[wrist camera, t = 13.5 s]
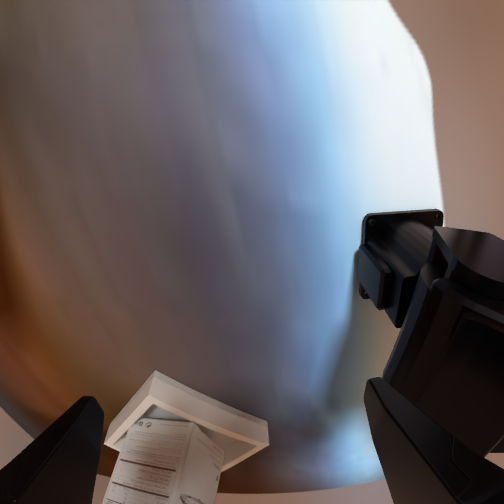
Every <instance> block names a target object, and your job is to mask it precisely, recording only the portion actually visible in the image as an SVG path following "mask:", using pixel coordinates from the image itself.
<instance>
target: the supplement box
mask: <svg viewBox="0 0 504 504" xmlns="http://www.w3.org/2000/svg"><path fill="white" fill-rule="evenodd" d="M224 454H225V452H224V450H222V449H221V448H219V447H218V446H217V445H216V444H215V443H214V442H213V441H212V440H211V439H210V438H209V437H207V436H206V435H205V434H204V433H203V432H202V431H201V430H200V428H199V427H198V426H197V425H196V424H195V423H193V422H180V421H168V420H158V419H148V418H139V419H138V420H137V421H136V422H135V423H134V424H133V425H132V426H131V427H130V428H129V430H128V432H127V435H126V437H125V440H124V443H123V446H122V448H121V451H120V454H119V457H118V459H117V462H116V465H115V468H114V471H113V473H112V476H111V480H110V482H109V485H108V488H107V491H106V494H105V497H104V500H103V503H102V504H215V499H216V494H217V489H218V484H219V479H220V474H221V469H222V464H223V459H224Z"/></svg>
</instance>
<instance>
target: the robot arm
mask: <svg viewBox="0 0 504 504" xmlns="http://www.w3.org/2000/svg"><path fill="white" fill-rule="evenodd" d="M437 214H438V217H437V218H436V215H437ZM370 219H373V223H372V224H369V220H370ZM442 226H443V212H441V211H440V210H438V209H427V210H411V211H396V212H382V213H370V214H367V215H366V216H365V217H364V220H363V243H362V244H361V245H360V247H359V258H358V275H357V278H358V280H359V281H360V289H359V293H360V295H361V297H362V298H363V299H371V300H372V302H373V303H374V305H375V306H376V308H377V309H379V310H385V312H386V313H387V315H388V316H389V318H390V319H391V321H392V323H393V324H394V326H395V327H396V328H401V327H402V328H401V330H400V333H399V335H398V338H397V340H396V343H395V345H394V348H393V350H392V353H391V355H390V358H389V360H388V362H387V365H386V367H385V369H384V373H383V377H382V378H380V377H376V378H372V379H369V380H368V381H367V384H366V388H365V393H364V403H365V407H366V412H367V416H368V421H369V425H370V430H371V435H372V439H373V442H374V446H375V449H376V451H377V454H378V457H379V460H380V463H381V466H382V469H383V472H384V475H385V478H386V481H387V484H388V487H389V490H390V493H391V496H392V499H393V503H394V504H504V469H502V468H501V467H499V466H497V465H496V464H494V463H492V462H490V461H489V460H487V459H485V458H484V457H485V456H486V455H487V454H488V453H504V240H502V239H500V238H498V237H497V236H495V235H493V234H490V233H486V232H479V231H472V230H464V229H456V228H448V227H442ZM365 291H366V292H367V293H365ZM364 293H365V294H364ZM103 424H104V412H103V410H102V408H101V407H100V405H99V403H98V402H97V400H96V399H95V398H94V397H93V396H83V397H81V398H80V399H79V400H78V401H77V402H76V403H75V404H73V405H72V406H71V407H70V408H69V409H68V410H67V411H66V412H65V413H63V414H62V415H61V416H60V417H59V418H58V419H57V420H56V421H55V422H54V423H52V424H51V425H50V426H49V427H48V428H47V429H46V430H45V431H44V432H43V433H41V434H40V435H39V436H38V437H37V438H36V439H35V440H34V441H33V442H32V443H31V444H29V445H28V446H27V447H26V448H25V449H24V450H23V451H22V452H21V453H20V454H18V455H17V456H16V457H15V458H14V459H13V460H12V461H11V462H9V463H8V464H7V465H6V466H5V467H3V468H2V469H1V470H0V504H92V498H93V492H94V486H95V480H96V475H97V469H98V464H99V459H100V453H101V444H102V434H103Z"/></svg>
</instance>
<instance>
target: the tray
mask: <svg viewBox="0 0 504 504" xmlns="http://www.w3.org/2000/svg"><path fill="white" fill-rule="evenodd" d="M139 418H148V419H158V420H168V421H180V422H193V423H195V424H196V425H197V426H198V427H199V428H200V430H201V431H202V432H203V433H204V434H205V435H206V436H207V437H209V438H210V439H211V440H212V441H213V442H214V443H215V444H216V445H217V446H218V447H219V448H221V449H222V450H224V452H225V454H224V459H223V464H222V469H221V472H223V471H225V470H227V469H228V468H230V467H232V466H234V465H236V464H237V463H239V462H241V461H243V460H245V459H246V458H248V457H250V456H251V455H253V454H255V453H256V452H258V451H260V450H261V449H263V448H265V447H266V446H268V445H269V437H268V425H267V421H265V420H262V419H260V418H257V417H255V416H252V415H250V414H247V413H245V412H242V411H240V410H238V409H235V408H233V407H231V406H228V405H226V404H224V403H221V402H219V401H217V400H215V399H212V398H210V397H208V396H206V395H204V394H202V393H200V392H197V391H195V390H193V389H191V388H189V387H187V386H185V385H183V384H181V383H179V382H177V381H175V380H173V379H171V378H169V377H167V376H165V375H164V374H162V373H160V372H158V371H156V370H155V371H154V372H153V373H152V375H151V376H150V377H149V378H148V379H147V381H146V382H145V383H144V384H143V385H142V387H141V388H140V389H139V390H138V391H137V392H136V394H135V395H134V396H133V397H132V398H131V400H130V401H129V402H128V403H127V404H126V406H125V407H124V408H123V409H122V410H121V412H120V413H119V414H118V415H117V416H116V418H115V419H114V420H113V421H112V422H111V423H110V426H109V429H108V432H107V435H106V439H105V442H104V444H105V445H107V446H109V447H111V448H113V449H115V450H118V451H121V448H122V446H123V443H124V440H125V437H126V435H127V432H128V430H129V428H130V427H131V426H132V425H133V424H134V423H135V422H136V421H137V420H138V419H139Z"/></svg>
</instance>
